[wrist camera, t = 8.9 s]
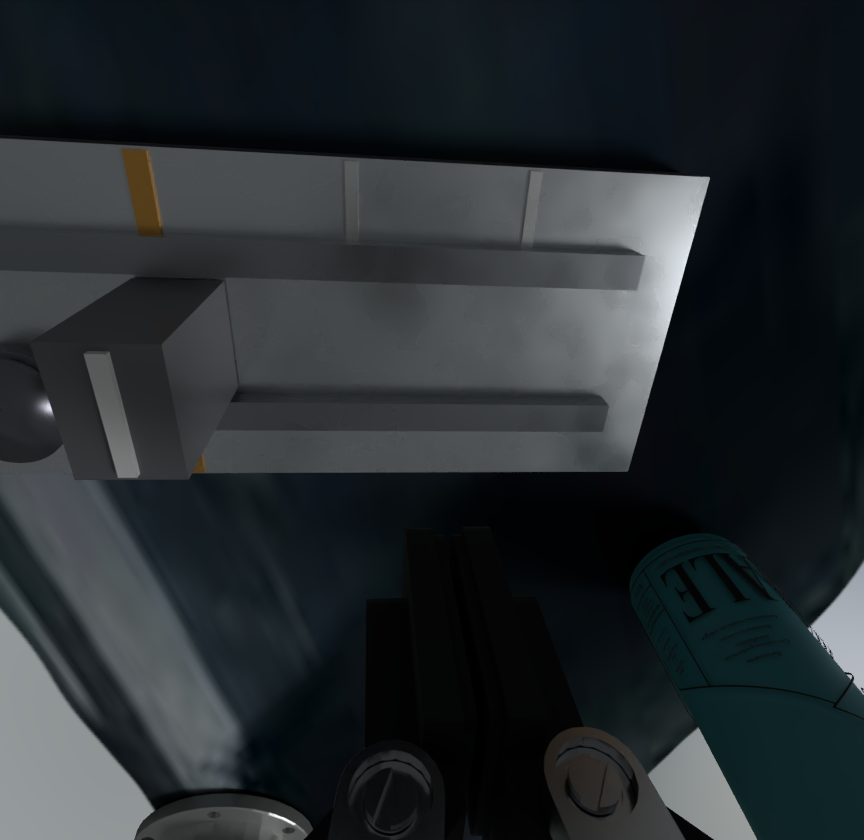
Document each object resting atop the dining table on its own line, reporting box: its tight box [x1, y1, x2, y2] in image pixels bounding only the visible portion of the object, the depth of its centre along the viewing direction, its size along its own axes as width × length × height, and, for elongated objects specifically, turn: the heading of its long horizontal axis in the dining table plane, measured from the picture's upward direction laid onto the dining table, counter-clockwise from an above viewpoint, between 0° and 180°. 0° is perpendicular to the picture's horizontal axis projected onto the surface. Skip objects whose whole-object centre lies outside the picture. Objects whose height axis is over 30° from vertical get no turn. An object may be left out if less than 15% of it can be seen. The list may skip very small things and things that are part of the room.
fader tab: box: [30, 278, 238, 480], centre depth 16 cm, size 4×3×6 cm
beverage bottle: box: [629, 533, 864, 840], centre depth 21 cm, size 6×7×20 cm
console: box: [0, 135, 710, 474], centre depth 20 cm, size 12×26×4 cm, turn 87°
